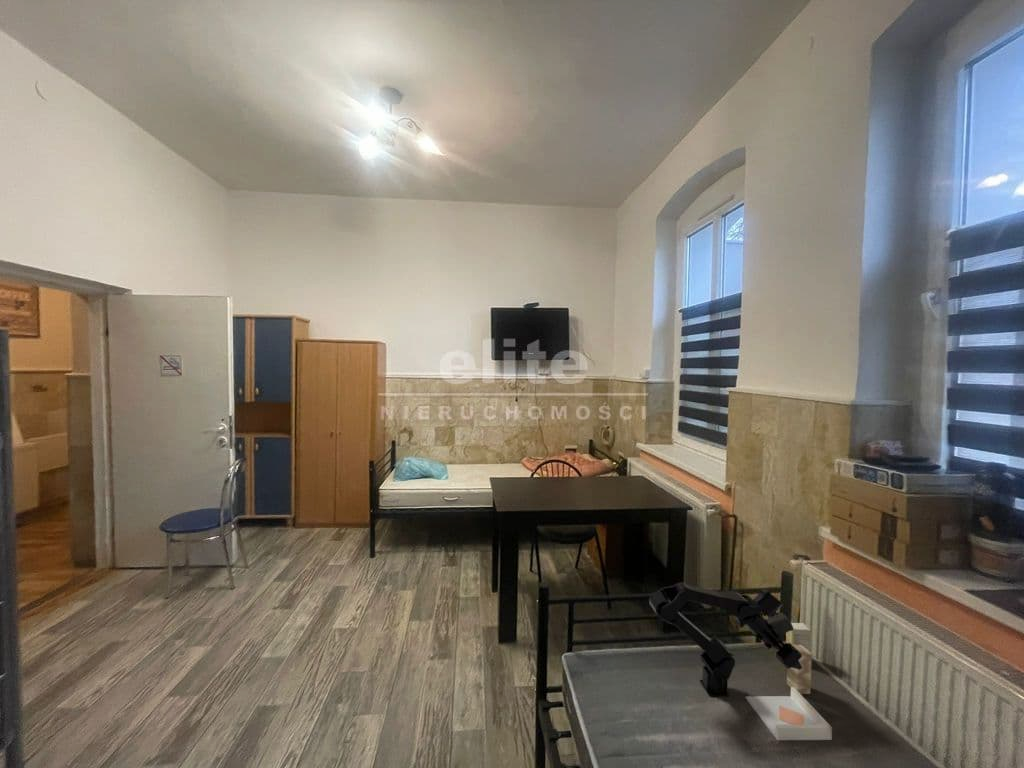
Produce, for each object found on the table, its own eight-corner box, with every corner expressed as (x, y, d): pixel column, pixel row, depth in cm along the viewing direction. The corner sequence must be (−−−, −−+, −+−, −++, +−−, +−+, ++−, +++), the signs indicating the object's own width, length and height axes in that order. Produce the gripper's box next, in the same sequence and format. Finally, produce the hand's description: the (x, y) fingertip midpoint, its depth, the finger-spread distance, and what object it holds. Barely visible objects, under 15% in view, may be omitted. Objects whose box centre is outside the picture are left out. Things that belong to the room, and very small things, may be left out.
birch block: (796, 693, 133) (798, 654, 133) (786, 683, 138) (788, 644, 138) (810, 693, 133) (811, 654, 133) (799, 683, 138) (801, 644, 138)
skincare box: (803, 655, 152) (804, 622, 152) (810, 664, 147) (811, 630, 147) (784, 654, 152) (785, 621, 152) (791, 662, 148) (792, 628, 148)
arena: (777, 740, 116) (778, 727, 116) (745, 698, 131) (745, 687, 131) (831, 739, 116) (832, 727, 116) (793, 698, 131) (793, 687, 131)
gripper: (796, 625, 125) (830, 660, 126) (757, 592, 144) (788, 623, 145) (770, 651, 125) (804, 686, 126) (735, 615, 144) (765, 646, 145)
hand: (790, 658), depth 135 cm, fingers open, 9 cm apart
